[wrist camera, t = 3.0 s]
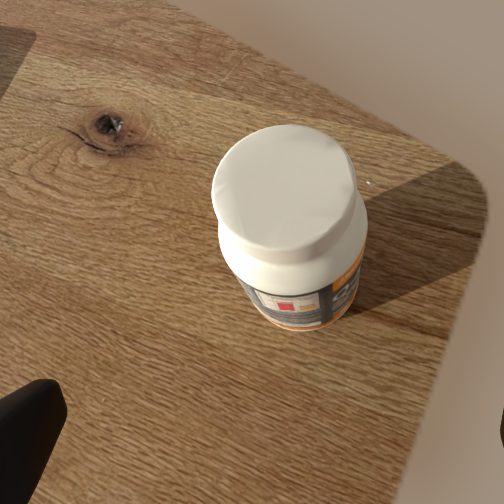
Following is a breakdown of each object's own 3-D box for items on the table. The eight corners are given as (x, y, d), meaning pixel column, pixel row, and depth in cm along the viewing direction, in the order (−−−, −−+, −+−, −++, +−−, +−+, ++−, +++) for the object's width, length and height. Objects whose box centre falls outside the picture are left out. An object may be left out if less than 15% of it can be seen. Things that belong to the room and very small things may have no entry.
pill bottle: (361, 332, 21) (385, 264, 12) (248, 334, 22) (188, 272, 13) (353, 228, 23) (368, 102, 14) (250, 234, 24) (201, 119, 15)
